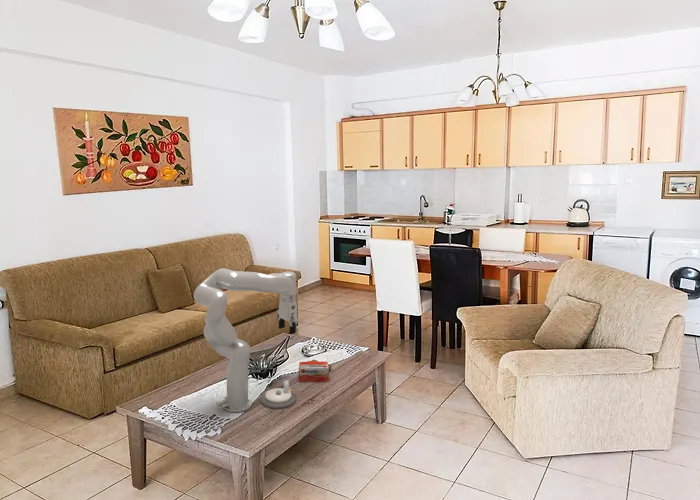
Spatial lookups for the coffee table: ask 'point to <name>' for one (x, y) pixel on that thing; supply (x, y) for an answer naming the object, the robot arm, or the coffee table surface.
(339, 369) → the coffee table surface
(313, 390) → the coffee table surface
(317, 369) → the medicine box
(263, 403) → the dial base
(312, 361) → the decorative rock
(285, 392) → the dial disc
